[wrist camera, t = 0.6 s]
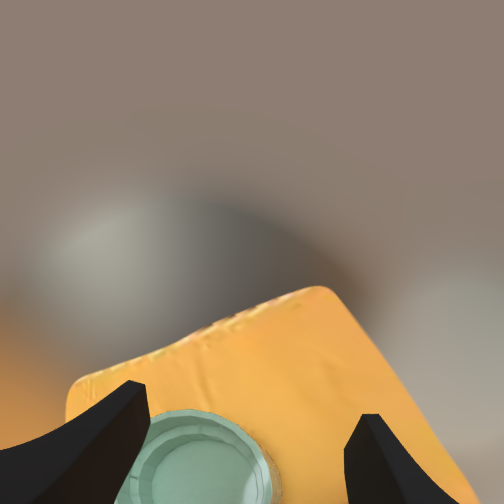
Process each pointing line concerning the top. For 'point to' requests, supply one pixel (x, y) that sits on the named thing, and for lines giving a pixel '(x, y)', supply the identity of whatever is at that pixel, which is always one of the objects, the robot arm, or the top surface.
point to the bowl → (200, 464)
